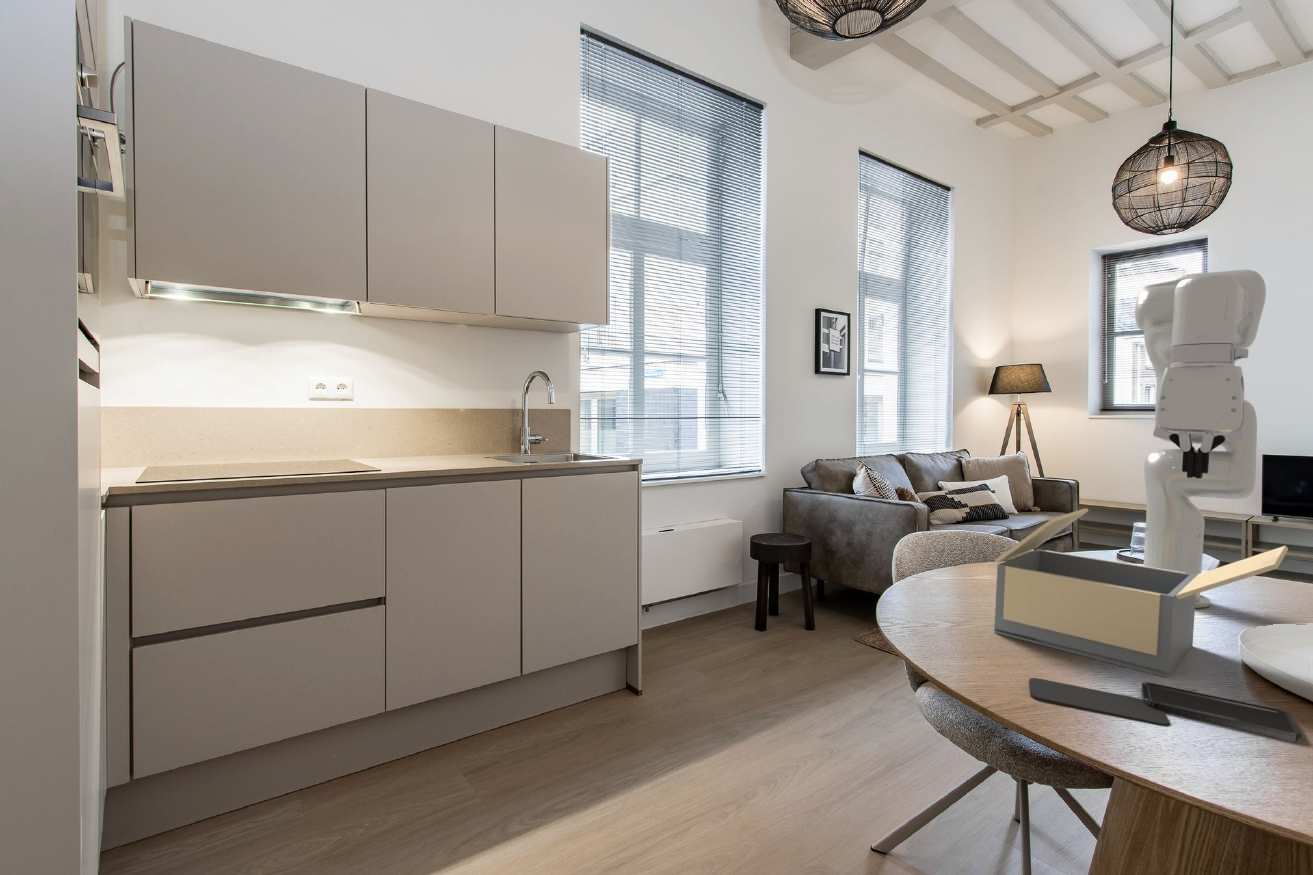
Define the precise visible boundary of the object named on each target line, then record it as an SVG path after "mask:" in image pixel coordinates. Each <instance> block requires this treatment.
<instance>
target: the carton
mask: <svg viewBox="0 0 1313 875" xmlns="http://www.w3.org/2000/svg"><path fill="white" fill-rule="evenodd" d="M996 570H997V571H996V587H995V588H996V592H995V612H994V630H993V631H994V634H998V635H1001V636H1005V637H1009V638H1014V639H1016V640H1021V641H1023V642H1028V643H1033V644H1035V645H1036V644H1037V645H1040V646H1043V647H1048V648H1052V649H1056V650H1059V651H1063V652H1067V653H1072V654H1075V655H1080V656H1083V657H1087V658H1091V659H1094V660H1098V661H1102V662H1106V663H1111V664H1114V665H1118V666H1122V667H1126V668H1130V669H1133V670H1136V671H1137V670H1138V671H1141V672H1145V673H1147V674H1149V673H1150V674H1154V675H1156V676H1160V677H1164V678H1168V679H1169V678H1170V677H1171V676H1172V674H1173V673H1174V672H1175V670H1176V668H1177V667H1178V666H1179V665H1180V663H1181V662H1182V661H1183V660H1184V658H1185V657H1186V656H1187V654H1188V653H1189V652H1190V650H1191V649H1192V647H1193V644H1194V629H1195V611H1196V608H1195V599H1196V594H1194V595H1191V596H1188V597H1184V598H1181V599H1178V598H1177V597H1176V595H1177V594H1178V593H1179V592H1180V591H1181V590H1182V589H1183V588H1184V587H1185V586H1186V585H1187V584H1188V583H1190V582H1191V581H1192V580H1193V579H1194V578H1195V577H1196V576H1197V575H1194V574H1188V573H1185V572H1179V571H1173V570H1167V569H1160V568H1154V567H1148V566H1143V565H1141V564H1134V563H1129V562H1121V561H1115V560H1109V559H1102V558H1096V557H1091V556H1085V555H1078V554H1072V553H1071V554H1070V553H1066V552H1065V553H1064V552H1060V551H1053V550H1047V549H1046V550H1045V549H1044V550H1043V549H1037V548H1035V549H1033V550H1030V551H1028V552H1025V553H1022V555H1021V554H1020V555H1017V556H1015V557H1014V558H1013V557H1012V558H1010V559H1007V560H1006V561H1005V560H1004V561H1002V562H1001V563H1000V562H999V563H997V569H996Z"/></svg>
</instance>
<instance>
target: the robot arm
mask: <svg viewBox="0 0 1313 875" xmlns="http://www.w3.org/2000/svg"><path fill="white" fill-rule="evenodd" d="M1266 296H1267V287H1266V283H1265V279H1264V278H1263V276H1262V275H1261V274H1260V273H1259V272H1257V271H1256V270H1252V269H1235V270H1226V271H1225V270H1224V271H1213V272H1211V271H1210V272H1198V273H1189V274H1187V275H1183V276H1181V277H1178V278H1177V279H1174V280H1170V281H1166V282H1165V281H1164V282H1161V283H1160V282H1159V283H1155V284H1149V285H1146V286H1144V287H1142V288H1141V290H1140V291H1139V293H1138V295H1137V298H1136V300H1135V301H1136V302H1135V307H1134V318H1135V322H1136V325H1137V327H1138V328H1139V330H1140V331H1142V332H1143V336H1144V345H1145V349H1146V353H1147V355H1148V358H1149V361H1150V363H1151V366H1152V367H1153V371H1154V373H1155V378H1156V388H1155V389H1156V390H1155V391H1156V393H1155V413H1154V415H1155V416H1154V430H1153V433H1152V434H1153V436H1154V437H1155V438H1159V439H1160V440H1162V441H1164V442H1167V443H1168V442H1169V443H1173V444H1174V445H1175V446H1177V447H1178V448H1164V449H1163V448H1162V449H1157V450H1154V451H1152V452H1151V453H1149V454H1148V455H1147V456H1146V458H1145V459H1144V464H1143V474H1144V482H1145V493H1146V494H1145V495H1146V513H1145V514H1146V515H1145V516H1146V517H1145V535H1144V550H1143V565H1142V566H1148V567H1154V568H1160V569H1167V570H1173V571H1179V572H1185V573H1188V574H1194V575H1198V574H1201V573H1202V572H1203V571H1202V570H1203V569H1202V568H1203V556H1204V555H1203V553H1204V539H1205V538H1204V537H1205V536H1204V535H1205V524H1206V522H1205V518H1204V515H1203V513H1202V512H1201V511H1200V509H1199V508H1198V507H1197V506H1196V505H1195V504H1194V503H1193V502H1192V501H1191V500H1190V499H1189V498H1191V497H1195V498H1196V497H1197V498H1198V497H1199V498H1212V499H1213V498H1214V499H1215V498H1216V499H1225V500H1226V499H1228V500H1241V499H1242V500H1243V499H1245V498H1248V497H1249V496H1251V494H1252V493H1253V492H1254V490H1255V484H1256V477H1257V446H1258V444H1257V441H1258V440H1257V439H1258V438H1257V437H1258V436H1257V435H1258V422H1257V421H1258V420H1257V419H1258V418H1257V413H1256V410H1255V407H1254V406H1253V404H1252V403H1251V402H1249V401H1248V400H1246V399H1245V384H1244V383H1245V382H1244V381H1245V380H1244V374H1243V370H1242V366H1238V365H1236V362H1237V361H1238V360H1242V359H1248V357H1249V348H1250V346H1252V344H1253V343H1254V341H1255V340H1256V337H1257V333H1258V331H1259V330H1258V329H1259V326H1260V322H1261V317H1262V315H1263V311H1264V306H1265V303H1266ZM1194 444H1195V445H1196V444H1197V445H1200V447H1198V448H1197V449H1195V447H1194ZM1219 446H1221V447H1223V448H1224V450H1214V449H1216V448H1218V447H1219ZM1210 603H1211V601H1210V599H1209V598H1208V597H1206V596H1204V595H1202V594H1201V592H1200V593H1197V594H1196V599H1195V609H1197V608H1198V609H1201V608H1202V609H1203V608H1207V607H1209V606H1210Z"/></svg>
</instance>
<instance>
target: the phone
mask: <svg viewBox="0 0 1313 875" xmlns="http://www.w3.org/2000/svg"><path fill="white" fill-rule="evenodd" d="M1028 688H1029V689H1028V690H1029V696H1030V698H1031V699H1033V700H1035V701H1040V702H1042V703H1046V704H1047V703H1048V704H1052V705H1056V706H1062V707H1067V708H1074V709H1076V710H1081V711H1088V712H1092V713H1096V714H1102V715H1107V716H1112V717H1117V718H1122V719H1127V720H1131V721H1137V722H1142V723H1148V724H1152V725H1156V726H1162V727H1168V726H1170V724H1171V722H1170V720H1169V719H1168V716H1167V715H1166V714H1167V713H1164V711H1163V710H1160V709H1156V708H1152V707H1149V706H1147V705H1145V704H1144V703H1143V699H1142V698H1138V697H1133V696H1128V695H1123V694H1119V693H1114V692H1108V691H1103V690H1098V689H1092V688H1089V687H1084V686H1078V685H1072V684H1068V683H1063V682H1059V681H1058V682H1057V681H1054V680H1048V679H1044V678H1037V677H1031V678H1029V680H1028Z"/></svg>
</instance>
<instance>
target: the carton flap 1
mask: <svg viewBox="0 0 1313 875" xmlns="http://www.w3.org/2000/svg"><path fill="white" fill-rule="evenodd" d="M1089 511H1090V510H1089V509H1088V508H1087V507H1086V508H1081V509H1079V510H1075V511H1072V512H1069V513H1065V514H1063V515H1060V516H1056V517H1054V518H1050V519H1049V520H1048V521H1047V522H1045V523H1043V525H1041V526H1039V527H1038V528H1037V529H1035V530H1034V531H1033V532H1031V533H1029V535H1027V536H1025V538H1022V539H1021V540H1020V541H1019V542H1017V543H1016V544H1014V545H1013V546H1012V547H1011V548H1009V549H1008V550H1006V551H1005V552H1003V553H1002V554H1000V555H999V556H998V557H996V559H994V562H995V563H996V564H999V563H1000V562H1001V563H1002V562H1004V561H1005V560H1006V561H1007V560H1010V559H1012V558H1013V557H1014V558H1015V557H1017V556H1020V555H1021V554H1022V555H1023V554H1025V553H1028V552H1031V551H1033V550H1036V549H1037V548H1038V547H1039V546H1041V545H1042V544H1044V543H1045V542H1046V541H1048V540H1049V539H1050V538H1052V537H1054V536H1055V535H1056V534H1057V533H1059V532H1061V531H1062V530H1063V529H1065V528H1066V527H1068V526H1069V525H1070V524H1072V523H1074V522H1075V521H1076V520H1078V519H1079V518H1080V517H1082V516H1083V515H1085V514H1086V513H1088V512H1089Z"/></svg>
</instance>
